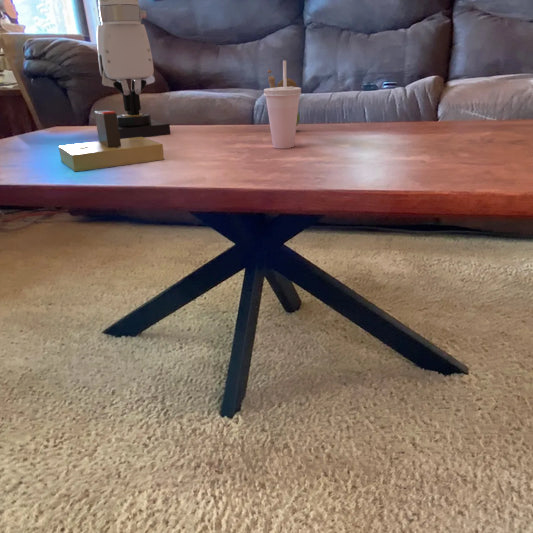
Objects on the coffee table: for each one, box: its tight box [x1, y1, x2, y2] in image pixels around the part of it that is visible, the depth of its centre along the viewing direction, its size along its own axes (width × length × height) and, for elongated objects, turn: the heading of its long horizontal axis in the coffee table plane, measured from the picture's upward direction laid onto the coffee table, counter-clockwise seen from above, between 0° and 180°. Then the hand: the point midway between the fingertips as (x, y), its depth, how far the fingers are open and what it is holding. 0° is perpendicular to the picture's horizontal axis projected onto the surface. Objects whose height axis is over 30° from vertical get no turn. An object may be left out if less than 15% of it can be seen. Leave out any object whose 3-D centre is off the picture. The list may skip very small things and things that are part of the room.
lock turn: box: [94, 110, 121, 147], centre depth 81 cm, size 6×2×5 cm, turn 32°
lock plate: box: [58, 137, 165, 172], centre depth 82 cm, size 14×10×3 cm
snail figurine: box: [267, 69, 300, 127], centre depth 104 cm, size 5×6×12 cm
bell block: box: [117, 113, 171, 139], centre depth 107 cm, size 12×10×4 cm
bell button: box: [122, 113, 143, 117], centre depth 107 cm, size 4×4×2 cm
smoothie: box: [263, 60, 302, 149], centre depth 87 cm, size 6×6×14 cm
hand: (133, 114), depth 107 cm, fingers closed
